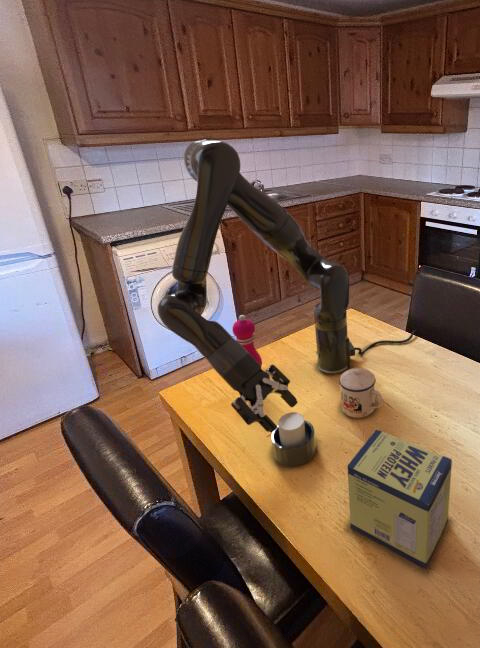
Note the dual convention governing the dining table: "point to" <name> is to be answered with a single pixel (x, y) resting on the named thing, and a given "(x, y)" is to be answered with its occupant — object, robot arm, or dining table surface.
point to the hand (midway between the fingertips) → (285, 417)
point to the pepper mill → (246, 336)
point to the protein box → (399, 496)
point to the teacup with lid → (359, 392)
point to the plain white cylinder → (292, 430)
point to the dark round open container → (296, 454)
